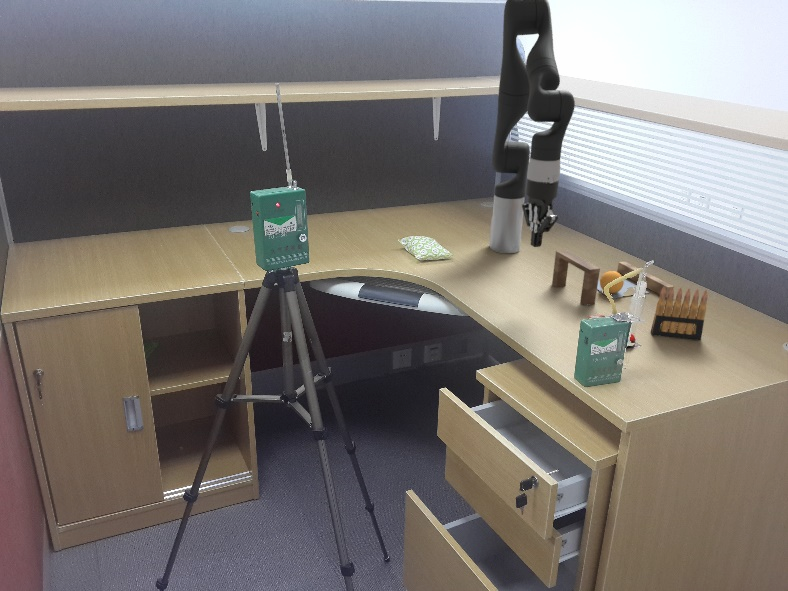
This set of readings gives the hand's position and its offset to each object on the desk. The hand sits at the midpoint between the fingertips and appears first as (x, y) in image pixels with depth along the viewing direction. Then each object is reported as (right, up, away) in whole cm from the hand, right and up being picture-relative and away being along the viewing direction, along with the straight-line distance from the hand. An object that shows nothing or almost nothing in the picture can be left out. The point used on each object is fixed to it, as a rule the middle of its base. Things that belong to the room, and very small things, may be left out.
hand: (535, 245), depth 165 cm
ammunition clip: (+30, -22, -12) cm, 39 cm away
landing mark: (+25, -10, +15) cm, 31 cm away
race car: (+14, -22, -13) cm, 29 cm away
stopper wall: (+33, -9, +18) cm, 39 cm away
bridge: (+12, -12, +10) cm, 20 cm away
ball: (+22, -9, +10) cm, 26 cm away
